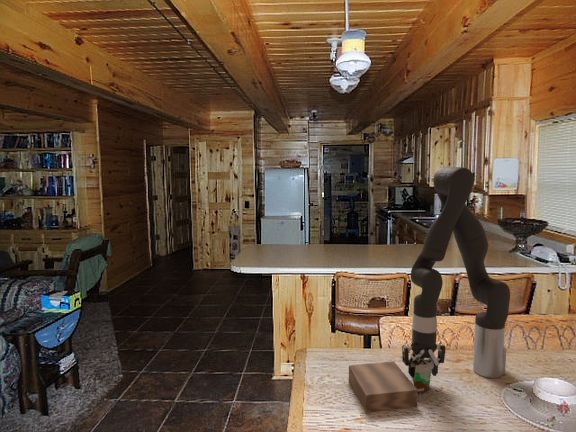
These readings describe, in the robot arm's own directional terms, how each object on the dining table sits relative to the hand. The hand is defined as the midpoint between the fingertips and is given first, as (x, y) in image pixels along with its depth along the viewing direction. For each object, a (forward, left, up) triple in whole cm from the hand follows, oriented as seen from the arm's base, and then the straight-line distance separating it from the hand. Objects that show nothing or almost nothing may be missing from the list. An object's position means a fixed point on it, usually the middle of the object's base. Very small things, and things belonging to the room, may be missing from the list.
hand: (422, 375), depth 136 cm
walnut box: (+15, +2, -4) cm, 15 cm away
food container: (0, 0, -4) cm, 4 cm away
